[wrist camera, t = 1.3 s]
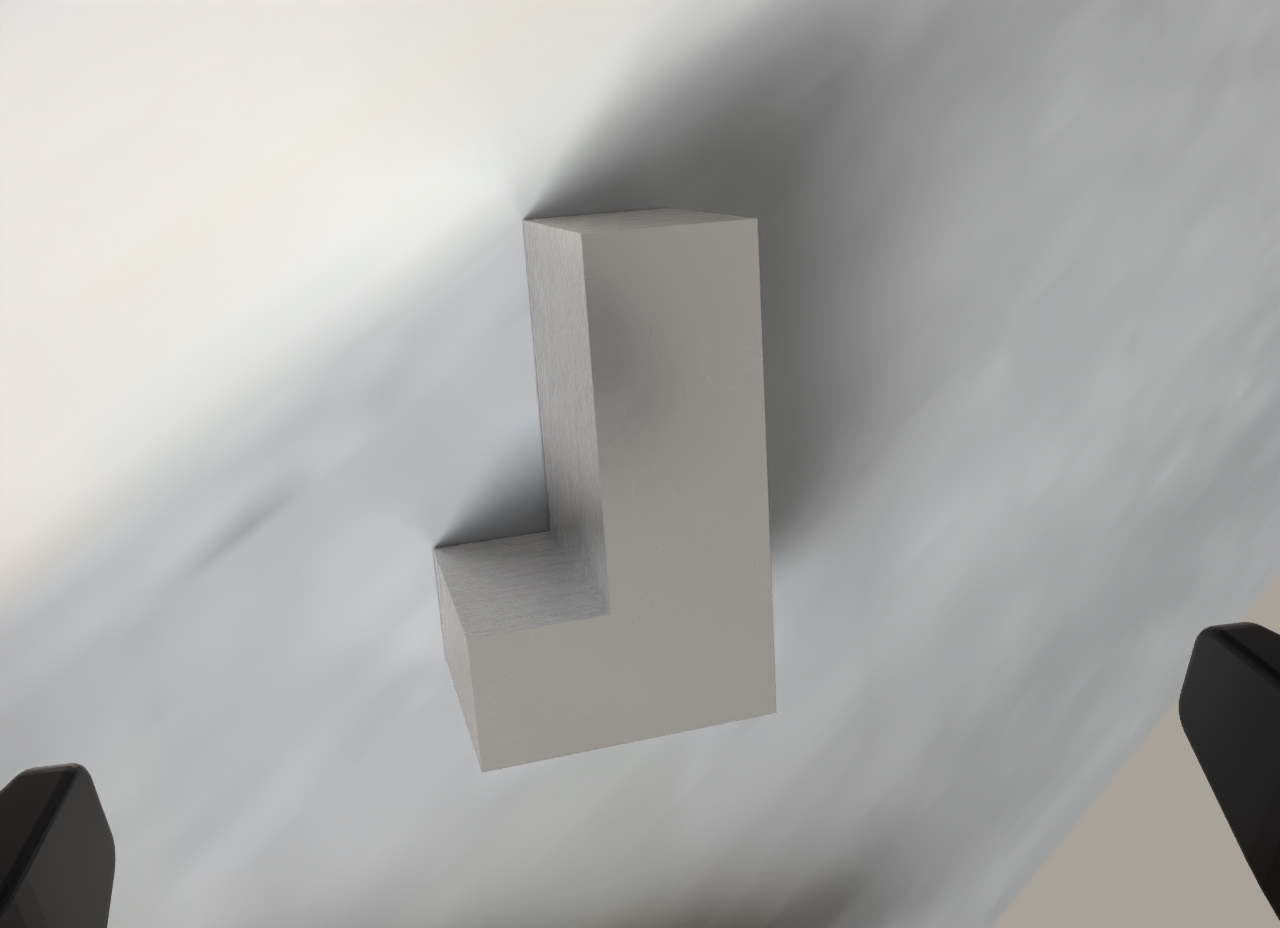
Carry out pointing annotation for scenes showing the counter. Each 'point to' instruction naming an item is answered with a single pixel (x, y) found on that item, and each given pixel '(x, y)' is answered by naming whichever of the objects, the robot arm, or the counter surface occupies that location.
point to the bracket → (628, 500)
